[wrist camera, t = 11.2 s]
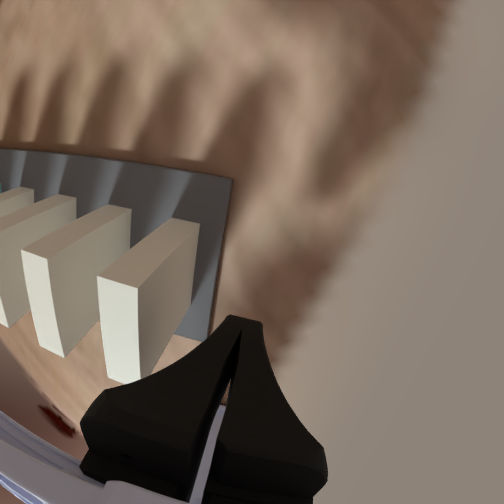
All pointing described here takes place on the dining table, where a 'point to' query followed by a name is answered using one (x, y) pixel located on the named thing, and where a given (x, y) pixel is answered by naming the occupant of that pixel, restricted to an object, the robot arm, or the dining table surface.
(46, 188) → the charcoal mat
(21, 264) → the ivory domino
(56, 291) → the ivory domino
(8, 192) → the ivory domino
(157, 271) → the ivory domino
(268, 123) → the dining table surface
